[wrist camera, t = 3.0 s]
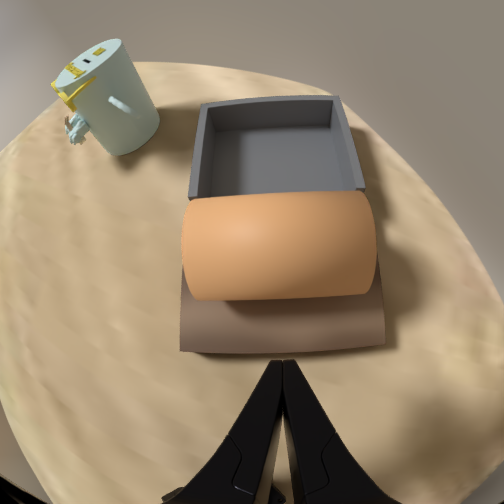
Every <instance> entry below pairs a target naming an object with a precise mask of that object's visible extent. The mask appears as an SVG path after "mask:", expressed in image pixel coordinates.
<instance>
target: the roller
mask: <svg viewBox="0 0 504 504" xmlns="http://www.w3.org/2000/svg"><path fill="white" fill-rule="evenodd" d="M376 256H377V241H376V230H375V223H374V218H373V213H372V210H371V207H370V204H369V201H368V199H367V197H366V196H365V194H364V193H363V192H361V191H310V192H285V193H266V194H250V195H236V196H223V197H211V198H200V199H193V200H191V202H190V203H189V204H188V206H187V209H186V212H185V215H184V220H183V227H182V260H183V268H184V273H185V277H186V281H187V284H188V287H189V290H190V292H191V294H192V295H193V297H194V298H195V299H196V300H198V301H225V300H267V299H292V298H312V297H329V296H344V295H358V294H365V293H367V292H368V290H369V289H370V287H371V284H372V281H373V278H374V273H375V267H376Z"/></svg>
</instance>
